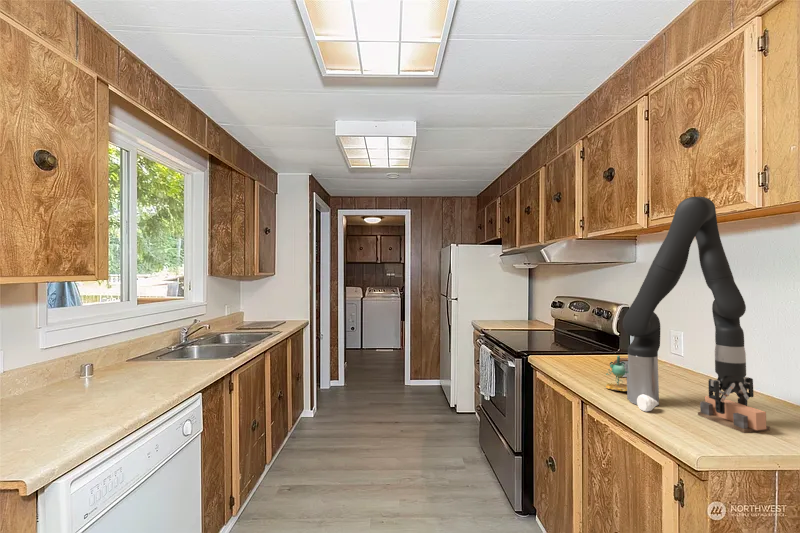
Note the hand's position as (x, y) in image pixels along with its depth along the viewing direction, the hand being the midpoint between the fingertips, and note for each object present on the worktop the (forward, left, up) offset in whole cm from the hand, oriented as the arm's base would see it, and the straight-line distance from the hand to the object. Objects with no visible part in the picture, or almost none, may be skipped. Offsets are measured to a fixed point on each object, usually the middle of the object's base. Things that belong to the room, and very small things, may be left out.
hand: (731, 412), depth 126 cm
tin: (-52, +8, -3) cm, 53 cm away
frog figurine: (-37, -10, -4) cm, 38 cm away
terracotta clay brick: (+1, 0, -2) cm, 2 cm away
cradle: (0, 0, -3) cm, 3 cm away
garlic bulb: (-15, -16, -3) cm, 22 cm away
